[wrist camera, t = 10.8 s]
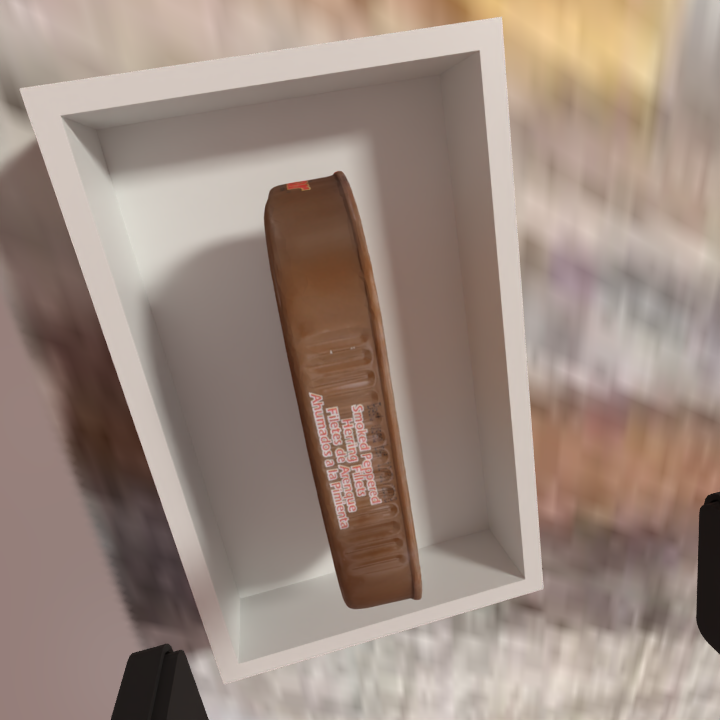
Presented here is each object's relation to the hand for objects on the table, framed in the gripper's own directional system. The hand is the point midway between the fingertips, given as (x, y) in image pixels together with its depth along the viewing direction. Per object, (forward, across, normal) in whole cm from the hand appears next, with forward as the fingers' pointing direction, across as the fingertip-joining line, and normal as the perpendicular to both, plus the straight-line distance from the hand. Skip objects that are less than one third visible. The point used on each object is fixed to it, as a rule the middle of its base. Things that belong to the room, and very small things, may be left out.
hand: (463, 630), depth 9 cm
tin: (+14, +1, 0) cm, 14 cm away
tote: (+15, 0, -1) cm, 15 cm away
